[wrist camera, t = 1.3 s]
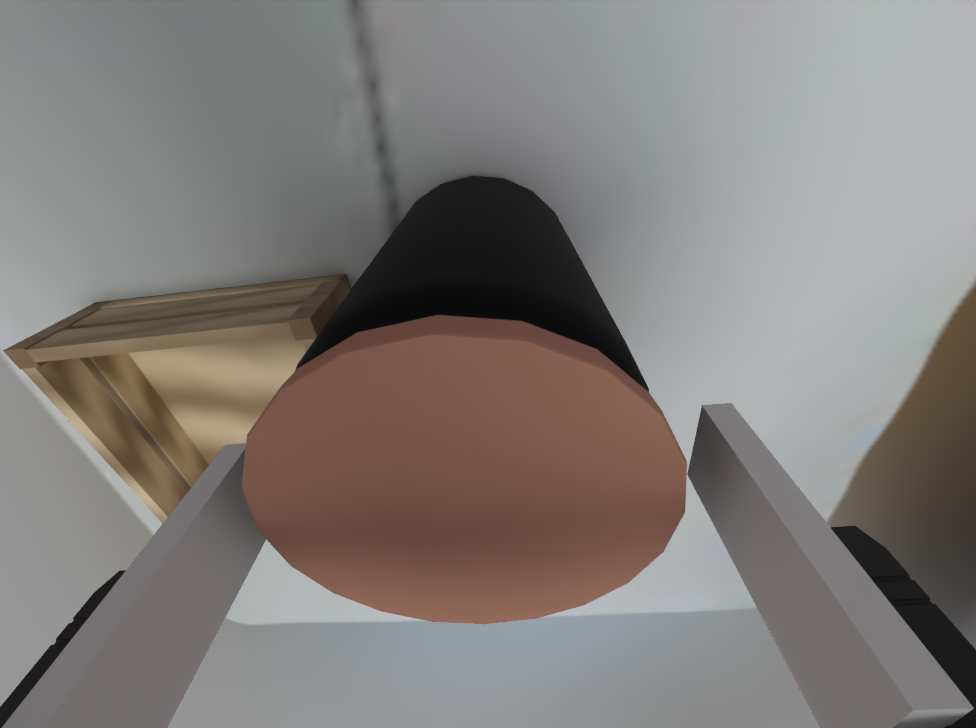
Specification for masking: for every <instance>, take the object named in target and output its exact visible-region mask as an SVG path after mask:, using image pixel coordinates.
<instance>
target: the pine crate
mask: <svg viewBox="0 0 976 728" xmlns="http://www.w3.org/2000/svg"><path fill="white" fill-rule="evenodd" d="M350 290H351V288H350V285H349V282H348V279H347V276H346V274H344V275H335V276H326V277H317V278H308V279H300V280H291V281H282V282H273V283H265V284H256V285H247V286H238V287H230V288H221V289H212V290H203V291H194V292H186V293H177V294H168V295H159V296H151V297H142V298H133V299H124V300H116V301H107V302H98V303H94V304H92V305H90V306H88V307H87V308H85V309H83V310H81V311H79V312H77V313H75V314H73V315H71V316H69V317H67V318H65V319H63V320H61V321H59V322H58V323H56V324H54V325H52V326H50V327H48V328H46V329H44V330H42V331H40V332H38V333H36V334H34V335H32V336H30V337H29V338H27V339H25V340H23V341H21V342H19V343H17V344H15V345H13V346H11V347H9V348H7V349H5V350H3V351H4V352H5V353H6V354H7V355H8V356H9V358H10V359H11V360H12V361H13V362H14V363H15V364H16V365H17V366H18V367H19V368H20V369H22V370H23V371H24V372H25V373H26V374H27V375H28V376H29V377H30V379H31V380H32V381H33V382H34V383H35V384H36V385H37V386H38V387H39V388H40V389H41V391H42V392H43V393H44V394H45V395H46V396H47V397H48V398H49V399H50V400H51V402H52V403H53V404H54V405H55V406H56V407H57V408H58V409H59V410H60V411H61V412H62V414H63V415H64V416H65V417H66V418H67V419H68V420H69V421H70V422H71V423H72V425H73V426H74V427H75V428H76V429H77V430H78V431H79V432H80V433H81V434H82V435H83V437H84V438H85V439H86V440H87V441H88V442H89V443H90V444H91V445H92V446H93V448H94V449H95V450H96V451H97V452H98V453H99V454H100V455H101V456H102V457H103V458H104V460H105V461H106V462H107V463H108V464H109V465H110V466H111V467H112V468H113V469H114V470H115V472H116V473H117V474H118V475H119V476H120V477H121V478H122V479H123V480H124V481H125V483H126V484H127V485H128V486H129V487H130V488H131V489H132V490H133V491H134V492H135V493H136V495H137V496H138V497H139V498H140V499H141V500H142V501H143V502H144V503H145V504H146V506H147V507H148V508H149V509H150V510H151V511H152V512H153V513H154V514H155V515H156V516H157V518H158V519H159V520H160V521H161V522H162V523H164V522H165V521H166V519H167V518H168V517H169V515H170V514H171V513H172V512H173V510H174V509H175V508H176V507H177V505H178V504H179V503H180V502H181V500H182V499H183V498H184V496H185V495H186V494H187V493H188V491H189V490H190V489H191V488H192V486H193V485H194V484H195V483H196V481H197V480H198V479H199V477H200V476H201V475H202V474H203V472H204V471H205V470H206V469H207V467H208V466H209V465H210V464H211V462H212V461H213V460H214V459H215V457H216V456H217V455H218V453H219V452H220V451H221V450H222V448H223V447H224V446H225V445H230V444H242V443H246V439H247V434H248V433H249V431H250V430H251V428H252V427H253V425H254V424H255V423H256V421H257V420H258V418H259V417H260V416H261V414H262V413H263V411H264V410H265V408H266V407H267V406H268V404H269V403H270V401H271V400H272V398H273V397H274V396H275V394H276V393H277V391H278V390H279V388H280V387H281V386H282V385H283V384H284V383H285V382H286V380H287V379H288V378H289V377H290V376H291V375H292V374H293V373H294V372H295V370H296V367H297V364H298V363H299V361H300V360H301V359H302V357H303V356H304V354H305V353H306V351H307V350H308V349H309V347H310V346H311V344H312V343H313V342H314V340H315V339H316V337H317V336H318V334H319V333H320V332H321V330H322V329H323V327H324V326H325V324H326V323H327V322H328V320H329V319H330V318H331V316H332V315H333V314H334V312H335V311H336V309H337V308H338V307H339V305H340V304H341V303H342V301H343V300H344V299H345V297H346V296H347V295H348V293H349V292H350Z"/></svg>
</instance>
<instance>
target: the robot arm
mask: <svg viewBox="0 0 976 728" xmlns="http://www.w3.org/2000/svg"><path fill="white" fill-rule="evenodd" d="M245 449H246V443H242V444H230V445H225V446H224V447H223V448H222V450H221V451H220V452H219V453H218V455H217V456H216V457H215V459H214V460H213V461H212V462H211V464H210V465H209V466H208V467H207V469H206V470H205V471H204V472H203V474H202V475H201V476H200V477H199V479H198V480H197V481H196V483H195V484H194V485H193V486H192V488H191V489H190V490H189V491H188V493H187V494H186V495H185V496H184V498H183V499H182V500H181V502H180V503H179V504H178V505H177V507H176V508H175V509H174V510H173V512H172V513H171V514H170V515H169V517H168V518H167V519H166V521H165V522H164V523H163V524H162V526H161V527H160V528H159V529H158V531H157V532H156V533H155V534H154V536H153V537H152V538H151V539H150V541H149V542H148V543H147V545H146V546H145V547H144V548H143V550H142V551H141V552H140V553H139V555H138V556H137V557H136V558H135V560H134V561H133V562H132V564H131V565H130V566H129V567H128V569H127V570H125V571H119V572H118V573H117V574H115V575H114V576H113V577H112V578H111V579H110V580H108V581H107V582H106V583H105V584H104V585H103V586H102V587H100V588H99V589H98V590H97V591H96V592H94V594H93V595H92V596H91V597H90V598H89V600H88V601H87V602H86V603H85V604H84V606H83V607H82V608H81V609H80V611H79V612H78V613H77V614H76V615H75V617H74V618H73V619H74V620H73V622H72V623H69V624H68V625H67V626H66V628H65V629H64V630H63V631H62V632H61V634H60V635H59V636H58V637H57V639H56V643H55V644H54V645H51V646H50V647H49V648H48V650H47V651H46V652H45V653H44V654H43V656H42V657H41V658H40V660H39V661H38V662H37V663H36V664H35V665H34V667H33V668H32V669H31V670H30V671H29V673H28V674H27V675H26V676H25V678H24V679H23V680H22V681H21V683H20V684H19V685H18V686H17V687H16V689H15V690H14V691H13V692H12V694H11V695H10V696H9V697H8V698H7V700H6V701H5V702H4V703H3V704H2V706H1V707H0V728H167V727H168V725H169V723H170V721H171V720H172V718H173V716H174V714H175V712H176V710H177V708H178V706H179V704H180V702H181V701H182V699H183V697H184V695H185V693H186V691H187V689H188V687H189V685H190V683H191V681H192V680H193V678H194V676H195V674H196V672H197V670H198V668H199V666H200V664H201V662H202V661H203V659H204V657H205V655H206V653H207V651H208V649H209V647H210V645H211V643H212V641H213V640H214V638H215V636H216V634H217V632H218V630H219V628H220V626H221V624H222V622H223V620H224V619H225V617H226V615H227V613H228V611H229V609H230V607H231V605H232V603H233V601H234V600H235V598H236V596H237V594H238V592H239V590H240V588H241V586H242V584H243V582H244V580H245V579H246V577H247V575H248V573H249V571H250V569H251V567H252V565H253V563H254V561H255V559H256V558H257V556H258V554H259V552H260V550H261V548H262V546H263V544H264V542H265V540H266V538H265V537H264V536H263V535H262V534H261V533H260V531H259V530H258V528H257V525H256V523H255V520H254V518H253V515H252V513H251V510H250V508H249V505H248V503H247V500H246V498H245V495H244V492H243V490H242V487H241V486H242V477H243V467H244V458H245ZM688 476H689V478H690V480H691V482H692V484H693V486H694V488H695V490H696V492H697V494H698V495H699V497H700V499H701V501H702V503H703V505H704V507H705V509H706V511H707V513H708V515H709V516H710V518H711V520H712V522H713V524H714V526H715V528H716V530H717V532H718V534H719V536H720V537H721V539H722V541H723V543H724V545H725V547H726V549H727V551H728V553H729V555H730V557H731V558H732V560H733V562H734V564H735V566H736V568H737V570H738V572H739V574H740V576H741V578H742V579H743V581H744V583H745V585H746V587H747V589H748V591H749V593H750V595H751V597H752V599H753V600H754V602H755V604H756V606H757V608H758V610H759V612H760V614H761V616H762V618H763V620H764V621H765V623H766V625H767V627H768V629H769V631H770V633H771V635H772V637H773V639H774V640H775V642H776V644H777V646H778V648H779V650H780V652H781V654H782V656H783V658H784V660H785V661H786V663H787V665H788V667H789V669H790V671H791V673H792V675H793V677H794V679H795V681H796V682H797V684H798V686H799V688H800V690H801V692H802V694H803V696H804V698H805V700H806V702H807V703H808V705H809V707H810V709H811V711H812V713H813V715H814V717H815V719H816V720H817V723H818V724H819V726H820V728H976V650H975V648H974V647H973V646H972V645H971V644H970V643H969V642H968V641H967V639H966V638H965V637H964V636H963V635H962V634H961V633H960V632H959V630H958V629H957V628H956V627H955V626H954V625H953V624H952V622H951V621H950V620H949V619H948V618H947V617H946V616H945V615H944V614H943V612H942V611H941V610H940V609H939V608H938V607H937V605H936V604H932V603H931V602H930V598H929V596H928V595H927V594H926V593H925V592H924V591H923V590H922V589H921V587H920V586H919V585H918V584H917V583H916V582H915V581H914V580H911V579H910V577H909V574H908V573H907V572H906V570H905V569H904V568H903V567H902V566H901V565H900V564H899V562H898V561H897V560H896V559H895V558H894V557H893V556H892V555H891V554H890V552H889V551H888V550H887V549H886V548H885V547H884V546H882V545H881V544H880V543H878V542H877V541H875V540H874V539H873V538H871V537H870V536H868V535H867V534H866V533H864V532H863V531H862V530H860V529H859V528H857V527H856V526H845V527H829V525H828V524H827V523H826V522H825V520H824V519H823V518H822V517H821V515H820V514H819V513H818V512H817V510H816V509H815V508H814V507H813V505H812V504H811V503H810V502H809V500H808V499H807V498H806V496H805V495H804V494H803V493H802V491H801V490H800V489H799V488H798V486H797V485H796V484H795V483H794V481H793V480H792V479H791V478H790V476H789V475H788V474H787V473H786V471H785V470H784V469H783V468H782V466H781V465H780V464H779V463H778V461H777V460H776V459H775V458H774V456H773V455H772V454H771V453H770V451H769V450H768V449H767V448H766V446H765V445H764V444H763V442H762V441H761V440H760V439H759V437H758V436H757V435H756V434H755V432H754V431H753V430H752V429H751V427H750V426H749V425H748V424H747V422H746V421H745V420H744V419H743V417H742V416H741V415H740V414H739V412H738V411H737V410H736V409H735V407H734V406H733V405H732V404H731V403H725V404H713V405H702V409H701V413H700V418H699V423H698V427H697V432H696V437H695V442H694V446H693V451H692V456H691V460H690V465H689V470H688Z"/></svg>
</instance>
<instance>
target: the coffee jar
mask: <svg viewBox="0 0 976 728" xmlns="http://www.w3.org/2000/svg"><path fill="white" fill-rule="evenodd" d="M686 471H687V462H686V459H685V457H684V455H683V453H682V451H681V449H680V447H679V445H678V443H677V441H676V439H675V437H674V435H673V433H672V431H671V428H670V426H669V424H668V422H667V420H666V418H665V416H664V414H663V412H662V410H661V409H660V408H659V406H658V405H657V403H656V402H655V401H654V399H653V398H652V396H651V395H650V393H649V388H648V386H647V384H646V382H645V380H644V378H643V376H642V374H641V372H640V370H639V368H638V366H637V364H636V362H635V360H634V358H633V356H632V354H631V352H630V350H629V348H628V346H627V344H626V342H625V340H624V339H623V337H622V335H621V333H620V331H619V329H618V328H617V326H616V324H615V322H614V320H613V318H612V317H611V315H610V313H609V311H608V309H607V307H606V305H605V304H604V302H603V300H602V298H601V296H600V294H599V293H598V291H597V289H596V287H595V285H594V283H593V282H592V280H591V278H590V276H589V274H588V272H587V270H586V269H585V267H584V265H583V263H582V261H581V259H580V258H579V256H578V254H577V252H576V250H575V248H574V247H573V245H572V243H571V241H570V239H569V237H568V236H567V234H566V232H565V230H564V228H563V226H562V224H561V223H560V221H559V219H558V217H557V215H556V213H555V212H554V211H553V210H552V209H551V208H550V207H548V206H547V205H546V204H545V203H544V202H543V201H542V200H541V199H540V198H539V197H538V196H537V195H536V194H535V193H534V192H533V191H530V190H528V189H526V188H524V187H522V186H519V185H517V184H515V183H513V182H511V181H508V180H506V179H503V178H491V177H479V176H470V177H466V178H462V179H458V180H455V181H451V182H447V183H443V184H441V185H439V186H438V187H436V188H435V189H433V190H432V191H431V192H429V193H428V194H426V195H425V196H423V197H422V198H420V199H419V200H418V201H416V202H415V203H414V205H413V206H412V208H411V209H410V210H409V212H408V213H407V214H406V216H405V217H404V218H403V220H402V221H401V223H400V224H399V225H398V227H397V228H396V229H395V231H394V232H393V233H392V235H391V236H390V237H389V239H388V240H387V242H386V243H385V244H384V246H383V247H382V248H381V250H380V251H379V252H378V254H377V255H376V256H375V258H374V259H373V261H372V262H371V263H370V265H369V266H368V267H367V269H366V270H365V271H364V273H363V274H362V276H361V277H360V278H359V280H358V281H357V282H356V284H355V285H354V286H353V288H352V289H351V290H350V292H349V293H348V295H347V296H346V297H345V299H344V300H343V301H342V303H341V304H340V305H339V307H338V308H337V309H336V311H335V312H334V314H333V315H332V316H331V318H330V319H329V320H328V322H327V323H326V324H325V326H324V327H323V329H322V330H321V332H320V333H319V334H318V336H317V337H316V339H315V340H314V342H313V343H312V344H311V346H310V347H309V349H308V350H307V351H306V353H305V354H304V356H303V357H302V359H301V360H300V361H299V363H298V364H297V367H296V370H295V372H294V373H293V374H292V375H291V376H290V377H289V378H288V379H287V380H286V382H285V383H284V384H283V385H282V386H281V387H280V388H279V390H278V391H277V393H276V394H275V396H274V397H273V398H272V400H271V401H270V403H269V404H268V406H267V407H266V408H265V410H264V411H263V413H262V414H261V416H260V417H259V418H258V420H257V421H256V423H255V424H254V425H253V427H252V428H251V430H250V431H249V433H248V434H247V439H246V449H245V458H244V467H243V477H242V486H241V487H242V490H243V492H244V495H245V498H246V500H247V503H248V505H249V508H250V510H251V513H252V515H253V518H254V520H255V523H256V525H257V528H258V530H259V531H260V533H261V534H262V535H263V536H264V537H265V538H266V539H267V540H268V541H269V542H270V544H271V545H272V546H273V547H274V548H275V549H276V550H277V551H278V552H279V553H280V554H281V556H282V557H283V558H284V559H285V560H286V561H287V562H288V563H289V564H290V565H291V566H292V567H293V568H295V569H297V570H298V571H300V572H301V573H303V574H304V575H306V576H308V577H309V578H311V579H312V580H314V581H315V582H317V583H319V584H320V585H322V586H323V587H325V588H326V589H328V590H330V591H331V592H333V593H335V594H338V595H340V596H343V597H345V598H348V599H351V600H353V601H356V602H358V603H361V604H364V605H366V606H369V607H372V608H374V609H377V610H379V611H383V612H387V613H392V614H397V615H402V616H407V617H412V618H417V619H422V620H427V621H432V622H454V623H475V624H488V623H497V622H507V621H516V620H525V619H535V618H539V617H543V616H546V615H550V614H553V613H557V612H561V611H564V610H568V609H571V608H575V607H579V606H582V605H585V604H587V603H589V602H591V601H593V600H595V599H597V598H599V597H601V596H603V595H605V594H607V593H609V592H611V591H613V590H615V589H617V588H619V587H621V586H623V585H625V584H627V583H628V582H630V581H631V580H632V579H633V578H634V577H635V576H636V575H637V574H639V573H640V572H641V571H642V570H643V569H644V568H645V567H647V566H648V565H649V564H650V563H651V562H652V561H653V560H654V559H656V558H657V557H658V556H659V555H660V554H661V553H662V552H663V551H664V549H665V548H666V546H667V544H668V542H669V540H670V538H671V537H672V535H673V533H674V531H675V529H676V527H677V526H678V524H679V522H680V520H681V518H682V517H683V515H684V513H685V497H686Z"/></svg>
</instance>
